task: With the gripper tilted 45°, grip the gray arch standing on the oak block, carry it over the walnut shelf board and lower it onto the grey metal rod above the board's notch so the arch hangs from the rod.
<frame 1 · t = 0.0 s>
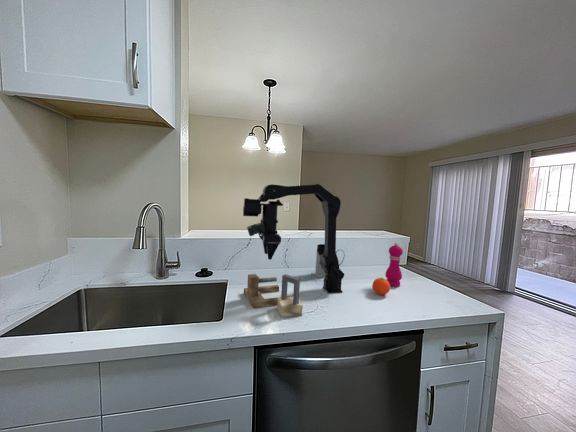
hand: (267, 256, 101), 15 cm above the countertop, tool pointing down, fingers open, 9 cm apart
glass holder: (328, 276, 129), on the countertop
clementine: (380, 294, 107), on the countertop
pepper mill: (392, 285, 120), on the countertop
oak block: (289, 311, 87), on the countertop
gray arch: (289, 301, 87), point 3 cm above the countertop, touching oak block
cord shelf: (269, 297, 97), on the countertop
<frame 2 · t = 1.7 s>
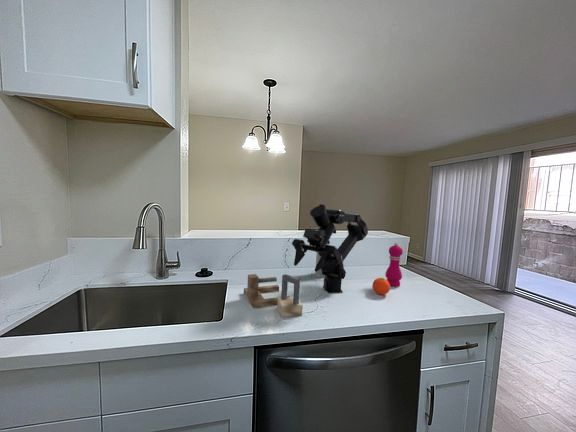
hand: (304, 268, 92), 14 cm above the countertop, tool tilted 45°, fingers open, 9 cm apart
nothing on the countertop moved.
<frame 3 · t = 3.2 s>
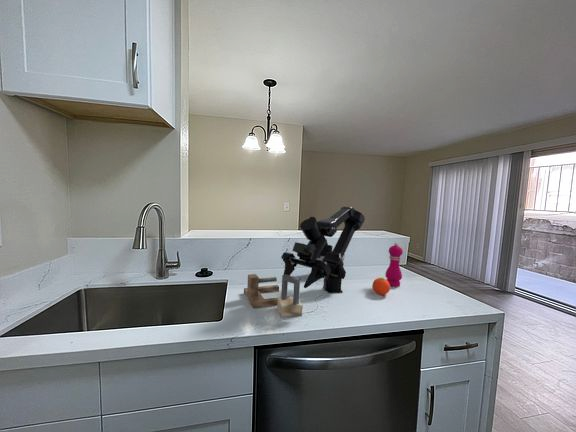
hand: (293, 283, 87), 9 cm above the countertop, tool tilted 45°, fingers open, 9 cm apart
nothing on the countertop moved.
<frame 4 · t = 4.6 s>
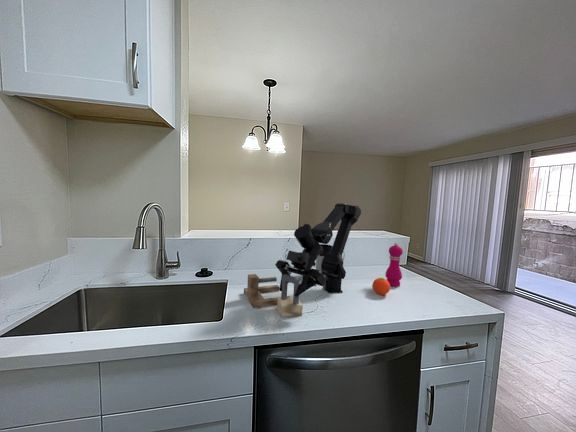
hand: (287, 293, 85), 7 cm above the countertop, tool tilted 45°, fingers closed on gray arch, 6 cm apart
gray arch: (289, 301, 87), point 4 cm above the countertop, touching gripper, oak block
everything else where it was.
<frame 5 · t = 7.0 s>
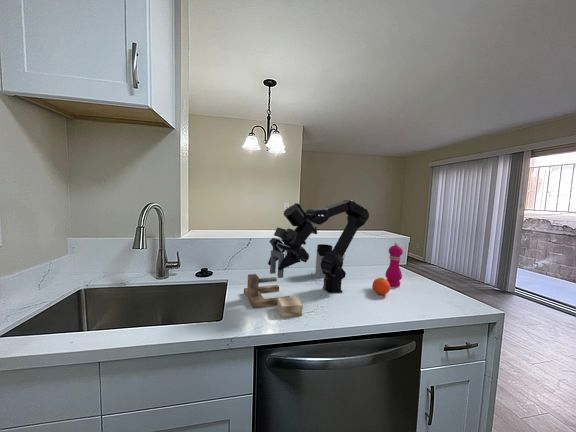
hand: (273, 267, 91), 14 cm above the countertop, tool tilted 45°, fingers closed on gray arch, 6 cm apart
gray arch: (276, 275, 92), point 10 cm above the countertop, touching gripper
everything else where it was.
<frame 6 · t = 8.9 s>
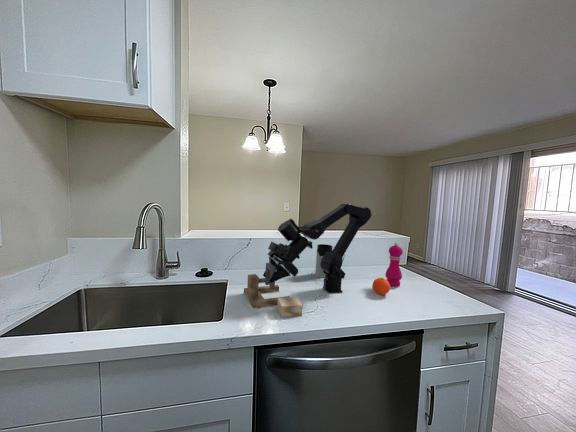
hand: (266, 279, 96), 7 cm above the countertop, tool tilted 45°, fingers closed on gray arch, 6 cm apart
gray arch: (269, 286, 97), point 4 cm above the countertop, touching gripper
everything else where it was.
when the fingers open (7 cm above the countertop, at t = 9.7 s): gray arch drops 2 cm, resting on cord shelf.
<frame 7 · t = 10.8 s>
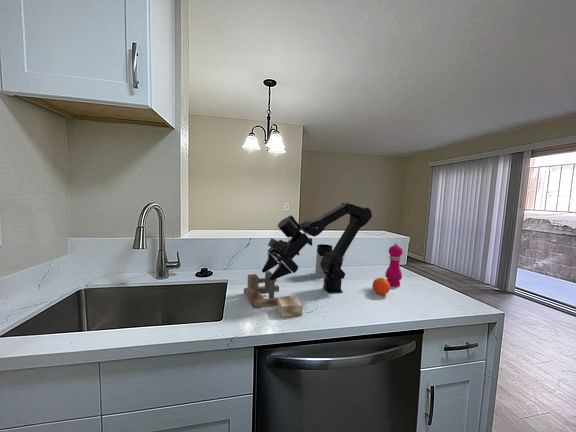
hand: (266, 275, 96), 9 cm above the countertop, tool tilted 45°, fingers open, 9 cm apart
gray arch: (269, 295, 97), point 1 cm above the countertop, touching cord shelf
everything else where it was.
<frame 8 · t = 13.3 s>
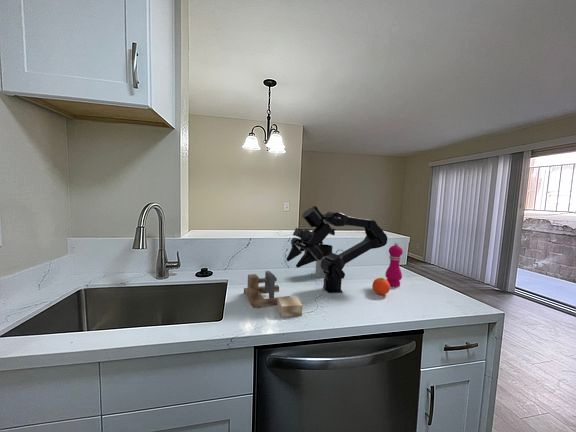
hand: (291, 263, 100), 13 cm above the countertop, tool tilted 45°, fingers open, 9 cm apart
nothing on the countertop moved.
at the end: gray arch 0.0 cm off-centre on the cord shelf, point 1.0 cm above the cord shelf's base; gray arch touching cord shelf; the gripper is holding nothing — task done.
